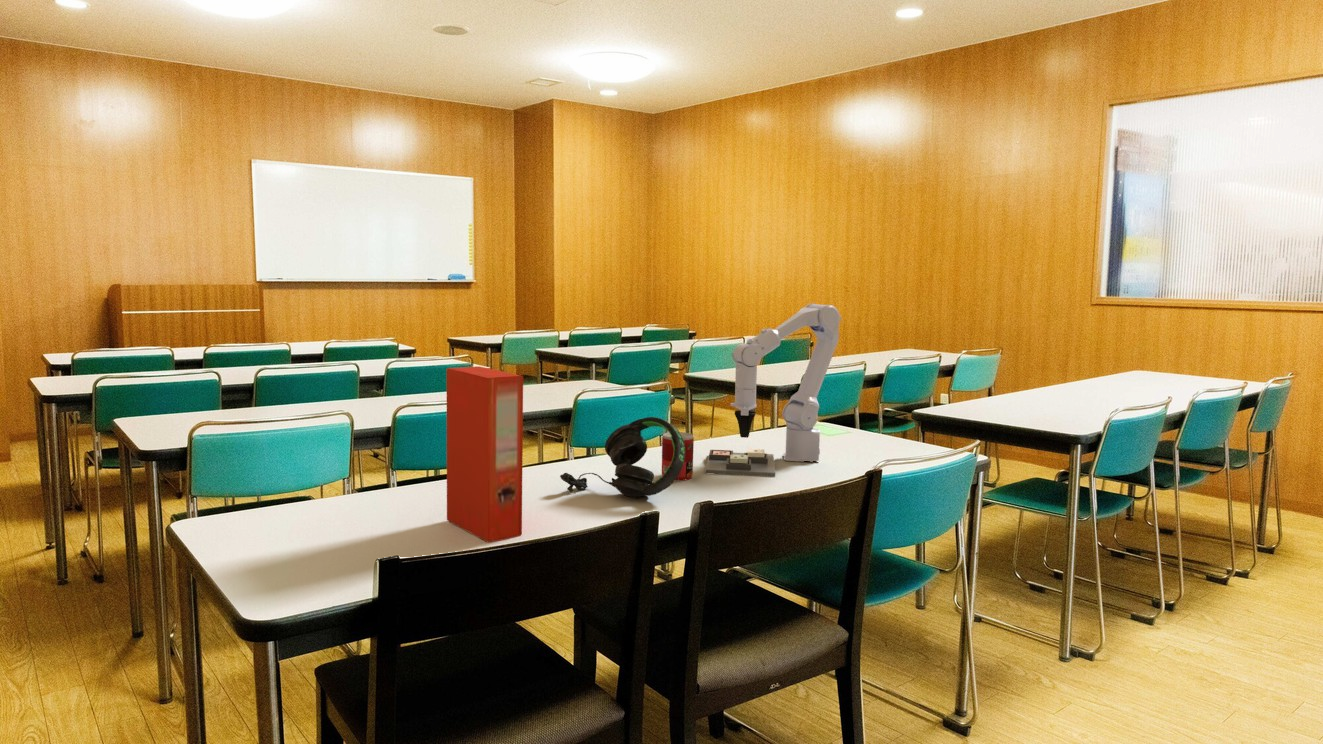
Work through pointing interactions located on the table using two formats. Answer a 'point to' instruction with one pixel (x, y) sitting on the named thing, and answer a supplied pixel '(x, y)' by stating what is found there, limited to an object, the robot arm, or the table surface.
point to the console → (740, 465)
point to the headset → (636, 460)
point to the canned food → (669, 452)
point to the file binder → (485, 452)
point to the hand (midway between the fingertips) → (744, 437)
